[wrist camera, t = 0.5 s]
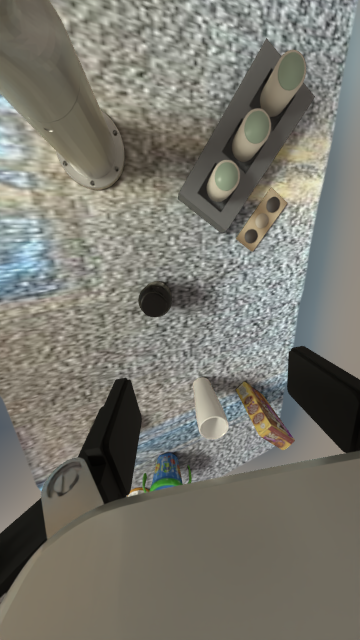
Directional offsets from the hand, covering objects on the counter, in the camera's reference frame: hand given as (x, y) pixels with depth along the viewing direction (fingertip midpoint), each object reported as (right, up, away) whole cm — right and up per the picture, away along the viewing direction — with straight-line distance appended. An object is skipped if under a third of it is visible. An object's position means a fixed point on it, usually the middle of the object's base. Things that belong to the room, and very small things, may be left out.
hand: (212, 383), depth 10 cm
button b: (+10, +36, +22) cm, 43 cm away
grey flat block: (+10, +37, +26) cm, 46 cm away
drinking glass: (+5, -15, +43) cm, 46 cm away
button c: (+14, +42, +20) cm, 49 cm away
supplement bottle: (-7, +10, +34) cm, 36 cm away
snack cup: (-6, -45, +52) cm, 69 cm away
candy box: (+20, -19, +45) cm, 53 cm away
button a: (+6, +30, +24) cm, 38 cm away
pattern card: (+17, +26, +30) cm, 43 cm away
